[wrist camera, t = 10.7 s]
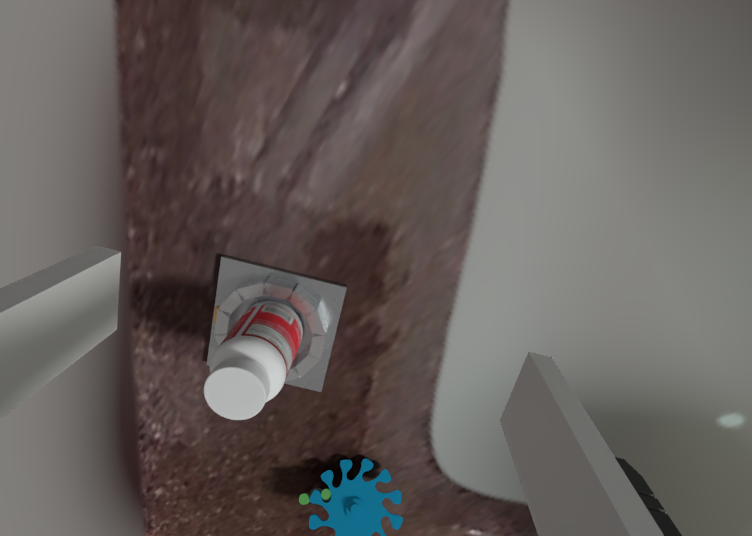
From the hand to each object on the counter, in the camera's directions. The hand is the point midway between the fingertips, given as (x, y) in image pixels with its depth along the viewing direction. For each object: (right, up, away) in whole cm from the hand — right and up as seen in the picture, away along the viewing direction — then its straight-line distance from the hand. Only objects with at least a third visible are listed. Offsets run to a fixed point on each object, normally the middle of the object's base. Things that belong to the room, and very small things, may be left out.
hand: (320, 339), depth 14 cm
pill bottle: (-8, -3, +29) cm, 31 cm away
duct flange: (-8, -3, +30) cm, 31 cm away
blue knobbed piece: (-1, -22, +36) cm, 42 cm away
